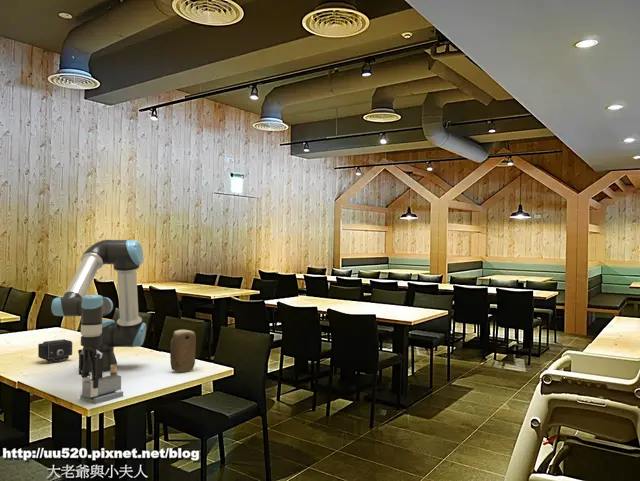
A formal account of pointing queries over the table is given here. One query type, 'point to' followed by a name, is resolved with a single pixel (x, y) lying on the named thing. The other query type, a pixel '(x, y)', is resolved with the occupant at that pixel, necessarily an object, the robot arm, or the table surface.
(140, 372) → the table surface
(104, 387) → the grey rectangular block
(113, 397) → the tray
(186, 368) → the stone
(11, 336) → the table surface
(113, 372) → the beam
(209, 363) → the table surface
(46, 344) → the camera
